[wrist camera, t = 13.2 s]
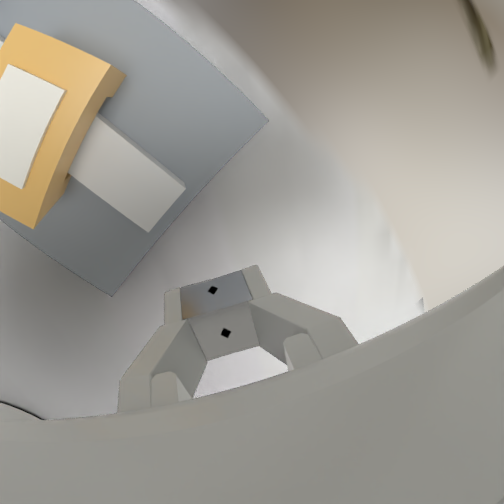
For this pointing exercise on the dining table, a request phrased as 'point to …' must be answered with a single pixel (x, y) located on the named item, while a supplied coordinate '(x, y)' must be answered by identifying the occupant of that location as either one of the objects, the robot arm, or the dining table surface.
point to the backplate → (133, 136)
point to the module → (44, 117)
